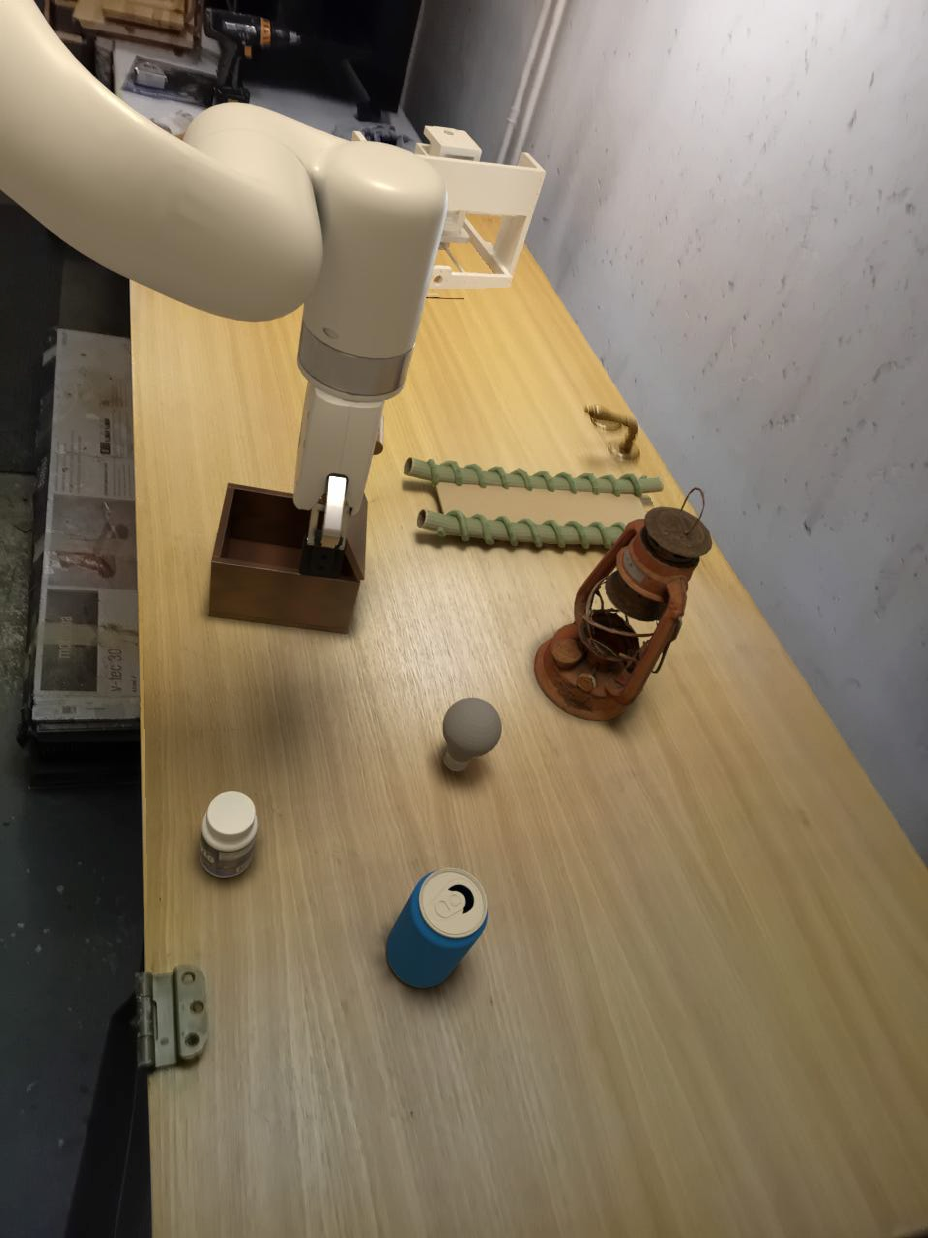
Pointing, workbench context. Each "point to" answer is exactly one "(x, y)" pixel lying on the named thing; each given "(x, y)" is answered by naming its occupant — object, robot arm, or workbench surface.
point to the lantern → (641, 589)
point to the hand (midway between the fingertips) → (321, 531)
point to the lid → (360, 523)
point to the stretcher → (531, 504)
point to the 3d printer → (480, 205)
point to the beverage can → (437, 927)
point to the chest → (273, 566)
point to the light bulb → (469, 731)
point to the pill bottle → (228, 834)
